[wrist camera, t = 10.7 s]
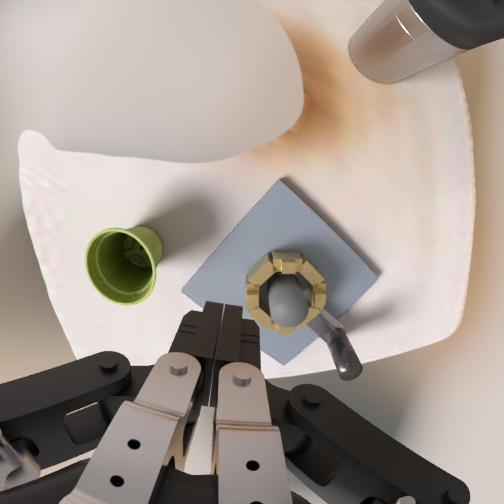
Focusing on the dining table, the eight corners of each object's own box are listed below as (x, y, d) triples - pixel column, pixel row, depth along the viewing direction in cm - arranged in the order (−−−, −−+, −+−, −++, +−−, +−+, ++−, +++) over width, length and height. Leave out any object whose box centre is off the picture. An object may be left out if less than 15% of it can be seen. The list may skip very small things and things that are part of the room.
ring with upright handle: (230, 286, 38) (225, 319, 30) (285, 235, 36) (295, 257, 28) (316, 360, 42) (327, 397, 34) (366, 321, 40) (387, 353, 32)
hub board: (278, 179, 35) (286, 183, 27) (382, 282, 40) (407, 307, 32) (182, 287, 40) (168, 316, 32) (291, 366, 44) (298, 401, 36)
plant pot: (183, 227, 37) (164, 245, 29) (165, 287, 40) (146, 317, 31) (122, 205, 36) (91, 217, 28) (109, 264, 39) (81, 288, 30)
